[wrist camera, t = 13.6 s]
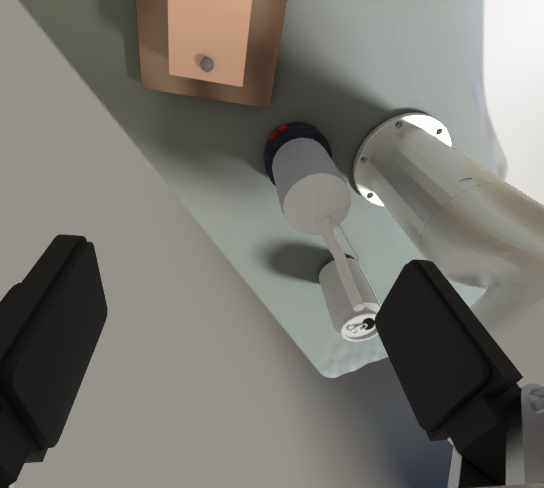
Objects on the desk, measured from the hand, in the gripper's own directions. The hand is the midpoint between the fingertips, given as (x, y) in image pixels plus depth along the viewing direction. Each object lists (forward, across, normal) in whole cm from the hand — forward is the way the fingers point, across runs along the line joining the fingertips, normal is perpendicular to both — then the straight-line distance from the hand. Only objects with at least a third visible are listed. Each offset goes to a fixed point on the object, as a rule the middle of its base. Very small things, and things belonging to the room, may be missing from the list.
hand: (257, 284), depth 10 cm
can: (+31, -20, +26) cm, 45 cm away
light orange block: (+28, +3, -5) cm, 29 cm away
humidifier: (+31, -8, +7) cm, 32 cm away
